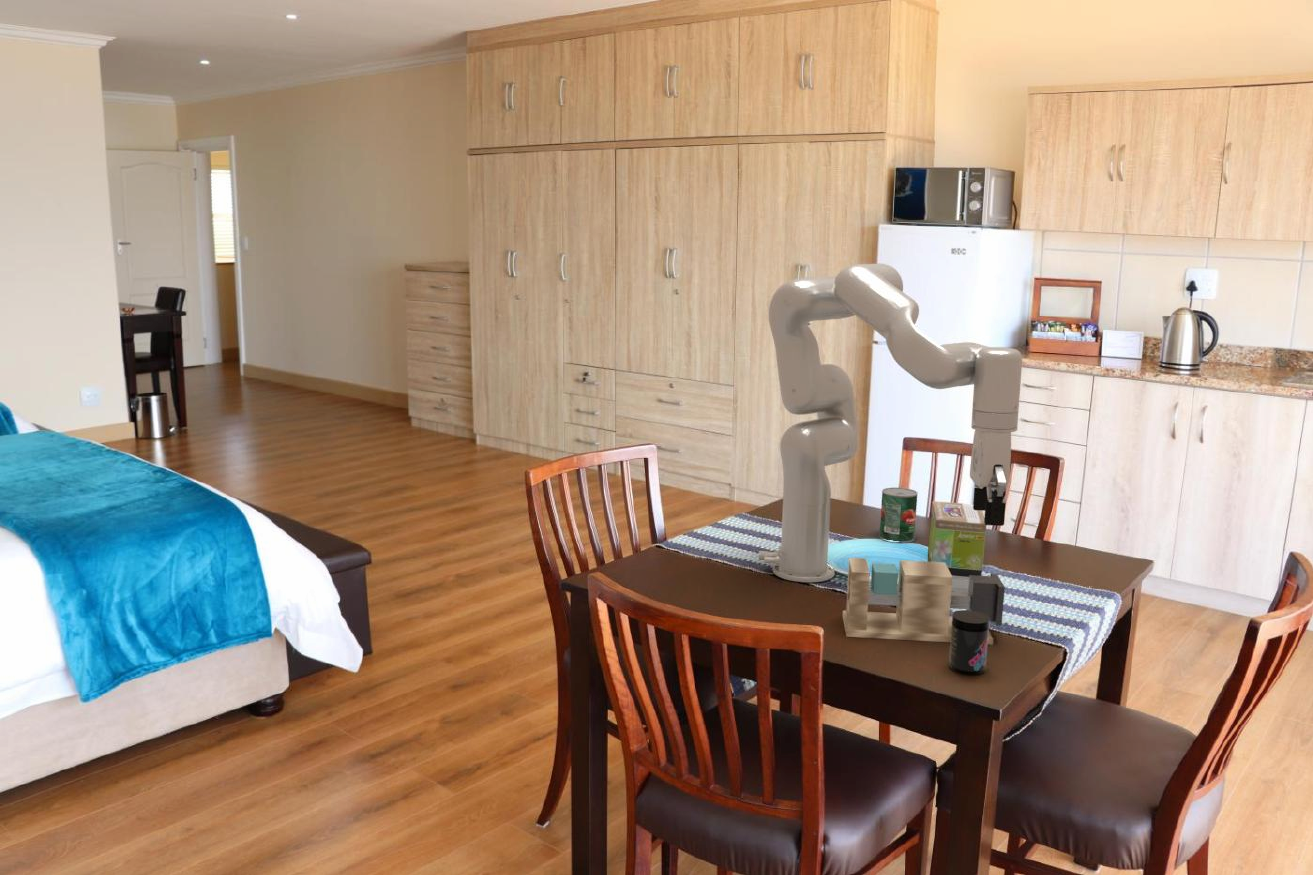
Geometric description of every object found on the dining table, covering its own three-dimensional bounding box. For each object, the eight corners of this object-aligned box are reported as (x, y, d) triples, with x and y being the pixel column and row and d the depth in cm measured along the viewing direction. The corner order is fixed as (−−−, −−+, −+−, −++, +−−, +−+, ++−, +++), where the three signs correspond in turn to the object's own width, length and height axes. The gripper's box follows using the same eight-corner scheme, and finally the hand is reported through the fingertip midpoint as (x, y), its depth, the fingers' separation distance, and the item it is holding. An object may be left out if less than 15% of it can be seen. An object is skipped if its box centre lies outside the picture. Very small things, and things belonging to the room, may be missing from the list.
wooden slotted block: (846, 636, 188) (849, 573, 186) (842, 615, 198) (845, 555, 195) (992, 644, 185) (998, 581, 183) (981, 623, 195) (986, 562, 193)
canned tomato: (878, 532, 250) (881, 486, 248) (912, 534, 249) (915, 488, 247) (880, 542, 242) (883, 495, 240) (916, 544, 241) (919, 496, 239)
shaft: (852, 617, 189) (854, 579, 187) (849, 603, 195) (851, 566, 194) (1001, 625, 186) (1004, 587, 185) (993, 610, 193) (996, 573, 192)
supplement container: (962, 678, 172) (967, 625, 170) (941, 664, 177) (944, 612, 175) (993, 673, 174) (997, 620, 172) (970, 659, 179) (974, 608, 177)
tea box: (981, 595, 210) (987, 522, 206) (928, 591, 211) (933, 518, 208) (975, 571, 224) (980, 502, 221) (925, 567, 226) (930, 499, 223)
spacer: (873, 593, 188) (874, 572, 188) (870, 584, 193) (872, 563, 192) (896, 595, 188) (898, 573, 187) (893, 585, 193) (894, 564, 192)
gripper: (962, 411, 192) (957, 504, 195) (982, 429, 175) (975, 530, 179) (1006, 412, 191) (999, 505, 195) (1029, 430, 175) (1022, 532, 178)
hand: (988, 517), depth 187 cm, fingers open, 9 cm apart
